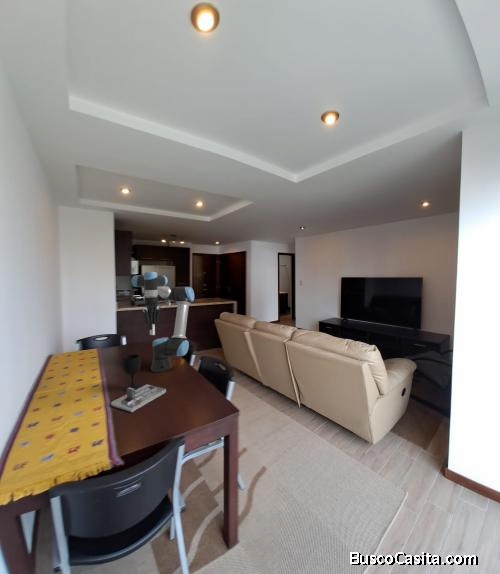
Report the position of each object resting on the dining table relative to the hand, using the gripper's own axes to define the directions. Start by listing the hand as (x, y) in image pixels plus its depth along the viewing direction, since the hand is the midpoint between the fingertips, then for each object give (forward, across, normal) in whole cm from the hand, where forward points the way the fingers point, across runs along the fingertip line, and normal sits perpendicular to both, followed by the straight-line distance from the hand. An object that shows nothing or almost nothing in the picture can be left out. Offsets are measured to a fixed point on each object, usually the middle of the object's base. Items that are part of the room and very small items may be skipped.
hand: (152, 334), depth 149 cm
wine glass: (+35, +4, -14) cm, 38 cm away
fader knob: (+32, +18, +2) cm, 37 cm away
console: (+34, +12, +2) cm, 36 cm away
